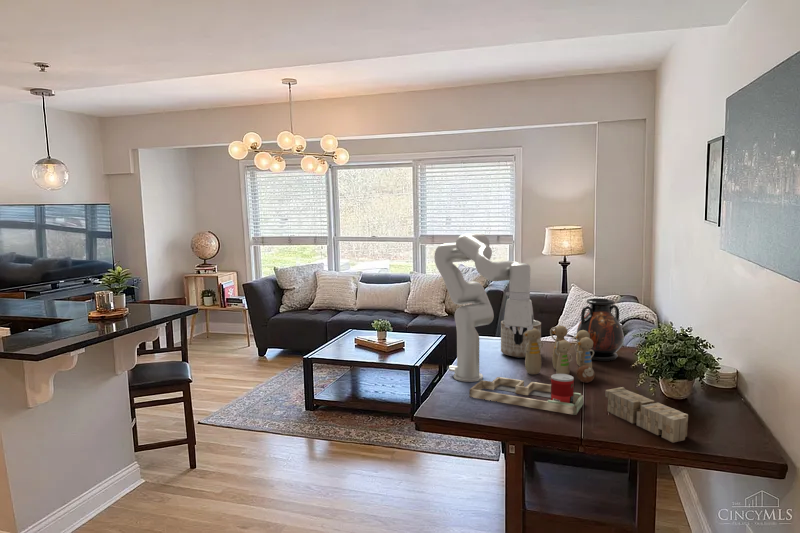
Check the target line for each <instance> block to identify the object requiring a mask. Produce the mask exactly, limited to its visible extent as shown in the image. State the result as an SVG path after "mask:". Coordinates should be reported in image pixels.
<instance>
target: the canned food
mask: <svg viewBox="0 0 800 533" xmlns="http://www.w3.org/2000/svg"><path fill="white" fill-rule="evenodd" d="M574 382H575V379H574V376H572V375H570V374H569V375H567V374H556V373H554V374H551V376H550V385H551V398H550V400H553V401H559V402H566V403H572V404H574V403H573V397H574V393H575V392H574V391H575V383H574Z"/></svg>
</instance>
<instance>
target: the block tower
mask: <svg viewBox="0 0 800 533" xmlns="http://www.w3.org/2000/svg"><path fill="white" fill-rule="evenodd" d="M604 392H605V398H607V412H608V413H610V414H611V415H613V416H616V417H617V418H620V419H622V420H624V421H626V422H628V423H631V424H636V426H637V427H640V428H641V429H643V430H646V431H648V432H649V433H651V434H654V435H656V436H660V435H661V438H662V439H664V440H666V441H668V442H671V443H677V442H682V441H686V438H687V437H688V427H689V426H688V424H689V423H688V422H689V414H688V413H684V412H683V411H680V410H678V409H675V408H672V407H670V406H667V405H665V404H662V403H660V402H655V400H654V399H650V398H649V397H646V396H644V395H642V394H638V393H636V392H634V391H630V390H628V389H626V388H625V387H624V386H622V387H621V386H620V387H615V388H611V389H605V391H604Z"/></svg>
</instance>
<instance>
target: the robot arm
mask: <svg viewBox="0 0 800 533" xmlns="http://www.w3.org/2000/svg"><path fill="white" fill-rule="evenodd" d="M434 251H435V252H434V263H435V267H436V268H437V271H438V272H439V274H440V277H442V280H443V282H444V285H445V287H446V290H447V292H448V295H449V298H450V300H451V301H452V303H453V304H454V305H461V306H459V307H458V308H457V309H456V310H455V312H454V322H455V326H456V365H449V366H448V370H449V372H454V373H453V379H454V380H456V381H459V382H466V383H474V382H480V381H481V380H484V379H483V378H484V375H483V373H481V372H480V335H479V333H478V331H477V329H476V327H482V326H486V325H487V326H488V325H490V324H491V323H492V322H493V320H494V318H495V317H494V316H495V315H494V310H493V307H492V304H491V301H490V300H489V297H488V294H487V292H486V289H485V288H484V286H483V285H482V283H480V282H478V281H476V280H475V281H473V280H471V281H467V280H465V278H464V275H463V273H462V271H461V270H460V268H458V267H457V265H455V264H454V263H460V262H469V261H473V263H474V267H475V269H476V271H477V273H479V275H480V276H482V277H483V278H484V279H486V280H488V281H491V282H504V281H509V284H508V285H509V291H506V292H505V296H507V297H508V298H507V299H506V301H505V309H504V317H503V320H504V323H505V327H507V328H510V329H511V330H512V331H513V333H514V342H515V344H516V345H517V344H518V345H520V344H521V343H522V342H523V333H524V332H525V331H528V330H532V329H533V325H532V324H533V320H534V308H533V304H532V303H533V302H532V300H531V299H530V298H531V291H530V290H531V265H530V264H529V263H525V262H518V261H516V260H515V261H514V260H500V261H499V260H498V261H492V260H491V258H492V255H493V254H492V253H493V251H492V248H491V247H490V240H489V238H488V236H487V235H485V234H483V233H479V232H478V233H476V232H475V233H464V234H463V233H462V234H461V235H459V236H458V237H457V238H456V241H455V242H447V243H443V244H442V243H441V244H440V245H438V246H437V247H436V248H435V250H434ZM518 327H520V331H518Z"/></svg>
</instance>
